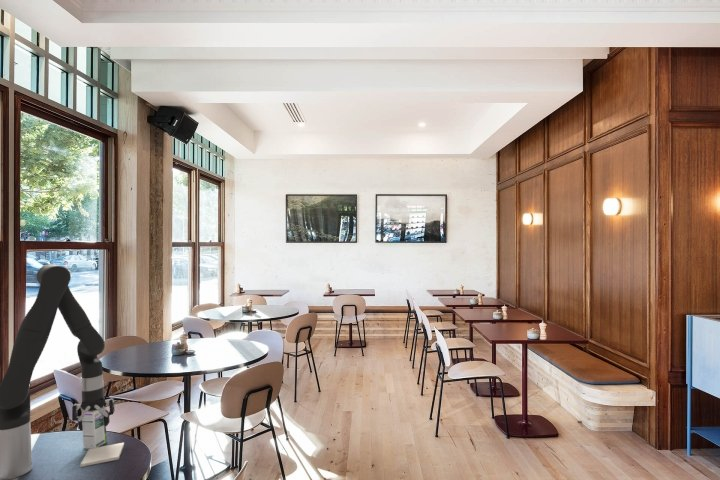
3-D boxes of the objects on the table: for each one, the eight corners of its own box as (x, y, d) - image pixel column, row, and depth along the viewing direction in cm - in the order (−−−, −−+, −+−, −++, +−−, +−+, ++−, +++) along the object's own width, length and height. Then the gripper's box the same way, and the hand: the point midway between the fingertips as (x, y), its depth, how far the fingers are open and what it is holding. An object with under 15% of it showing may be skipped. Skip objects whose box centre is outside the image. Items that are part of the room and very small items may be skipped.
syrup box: (95, 449, 160) (93, 412, 160) (82, 448, 161) (81, 411, 161) (107, 442, 166) (105, 406, 166) (94, 441, 167) (93, 405, 167)
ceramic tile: (80, 467, 147) (80, 464, 147) (88, 451, 159) (88, 449, 159) (118, 459, 152) (118, 456, 152) (124, 444, 163) (124, 442, 163)
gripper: (68, 393, 158) (70, 435, 157) (111, 386, 163) (113, 427, 163) (74, 387, 165) (75, 427, 164) (115, 381, 170) (116, 420, 170)
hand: (94, 427), depth 164 cm, fingers closed on syrup box, 8 cm apart
